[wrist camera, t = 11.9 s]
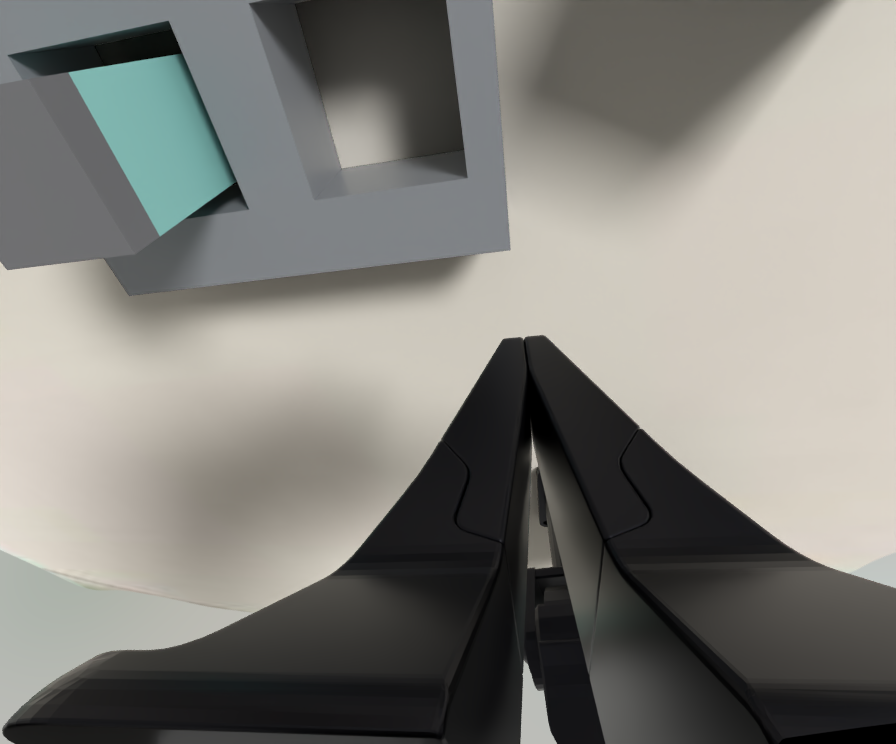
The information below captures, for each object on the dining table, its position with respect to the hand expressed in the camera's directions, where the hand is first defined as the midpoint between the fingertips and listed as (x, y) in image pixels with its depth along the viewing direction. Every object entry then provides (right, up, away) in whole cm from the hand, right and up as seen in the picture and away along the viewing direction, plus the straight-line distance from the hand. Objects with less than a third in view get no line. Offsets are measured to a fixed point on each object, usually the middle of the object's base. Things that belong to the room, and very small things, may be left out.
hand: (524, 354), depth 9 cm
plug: (-12, +10, +9) cm, 18 cm away
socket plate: (-8, +10, +8) cm, 15 cm away
